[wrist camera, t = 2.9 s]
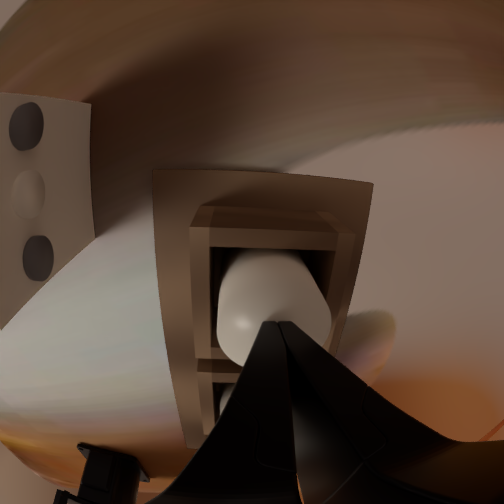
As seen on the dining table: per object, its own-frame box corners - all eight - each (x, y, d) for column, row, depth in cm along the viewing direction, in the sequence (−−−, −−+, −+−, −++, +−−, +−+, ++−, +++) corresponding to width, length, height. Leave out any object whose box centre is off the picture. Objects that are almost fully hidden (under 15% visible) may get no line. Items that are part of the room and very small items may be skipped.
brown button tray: (299, 443, 19) (306, 474, 16) (187, 445, 18) (185, 477, 15) (370, 182, 11) (409, 197, 8) (154, 169, 10) (127, 180, 8)
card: (101, 238, 11) (7, 332, 5) (77, 238, 11) (-19, 324, 5) (97, 103, 9) (-27, 87, 3) (72, 107, 9) (-52, 103, 2)
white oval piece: (296, 306, 12) (319, 369, 9) (220, 305, 12) (217, 371, 9) (307, 234, 11) (342, 281, 8) (221, 231, 11) (216, 279, 7)
